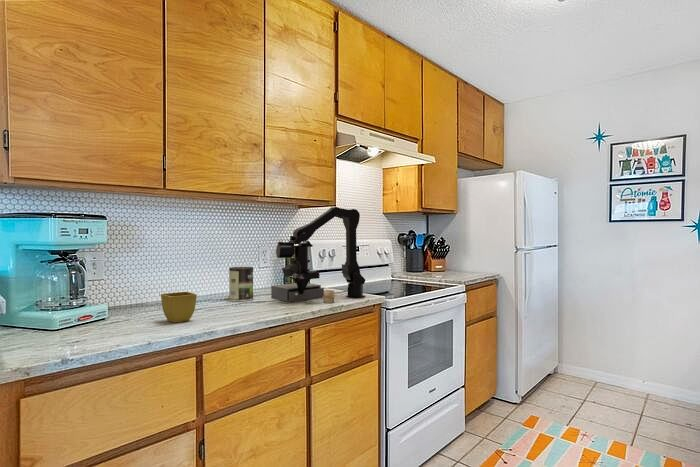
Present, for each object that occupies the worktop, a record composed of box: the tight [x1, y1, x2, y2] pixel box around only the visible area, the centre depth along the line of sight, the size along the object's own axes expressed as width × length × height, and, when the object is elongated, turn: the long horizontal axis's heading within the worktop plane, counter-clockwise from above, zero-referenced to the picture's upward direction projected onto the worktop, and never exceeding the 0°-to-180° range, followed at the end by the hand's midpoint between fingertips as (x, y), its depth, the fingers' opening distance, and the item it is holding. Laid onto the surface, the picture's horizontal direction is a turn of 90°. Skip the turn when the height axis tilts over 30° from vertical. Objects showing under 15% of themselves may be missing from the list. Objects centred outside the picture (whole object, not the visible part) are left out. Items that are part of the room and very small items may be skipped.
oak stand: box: [323, 289, 335, 304], centre depth 167 cm, size 4×4×5 cm
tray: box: [289, 287, 325, 302], centre depth 178 cm, size 18×13×4 cm
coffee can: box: [228, 266, 254, 303], centre depth 174 cm, size 10×10×14 cm
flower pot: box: [160, 291, 198, 324], centre depth 132 cm, size 9×9×9 cm
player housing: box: [270, 282, 323, 303], centre depth 179 cm, size 18×14×6 cm
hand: (301, 294), depth 170 cm, fingers closed
